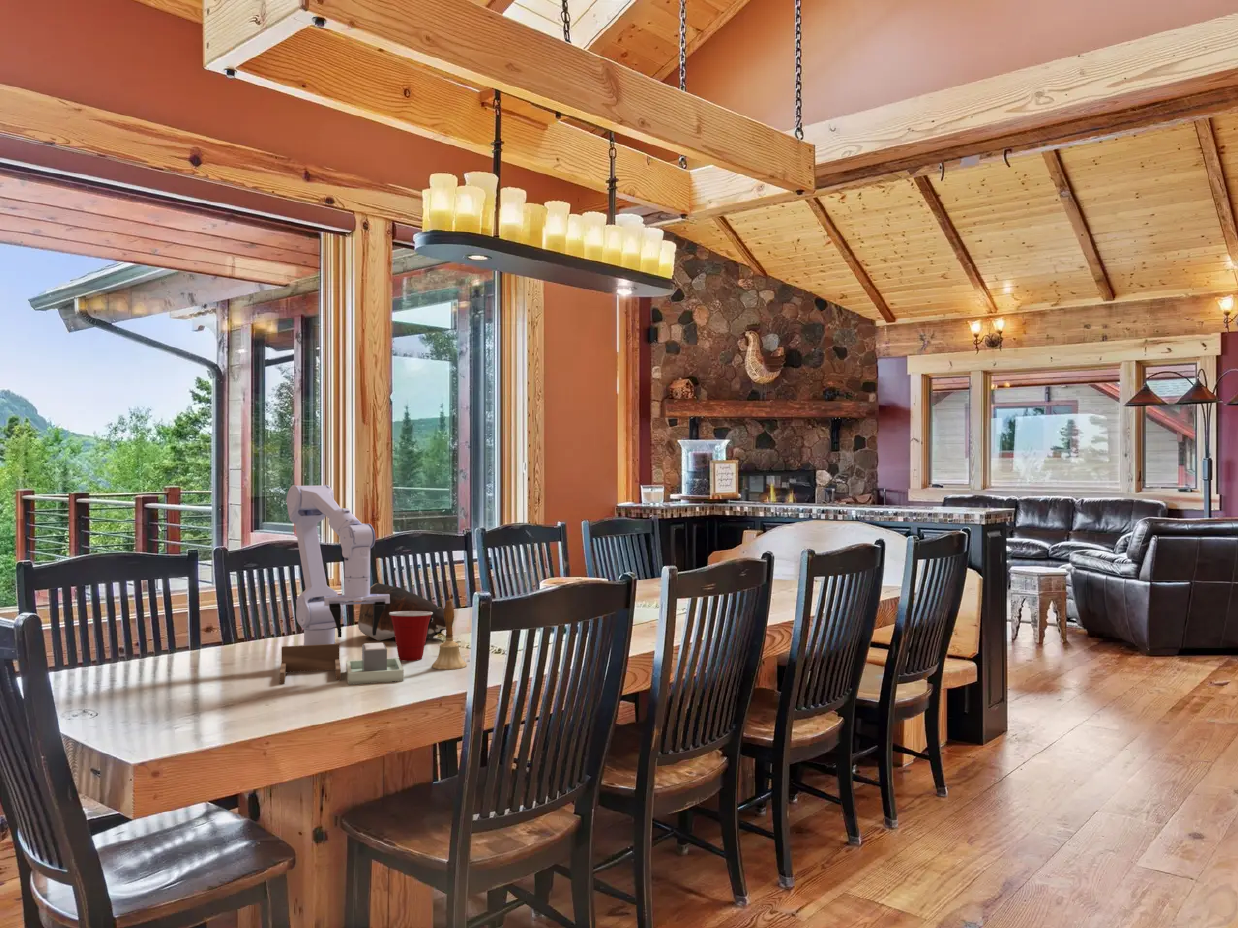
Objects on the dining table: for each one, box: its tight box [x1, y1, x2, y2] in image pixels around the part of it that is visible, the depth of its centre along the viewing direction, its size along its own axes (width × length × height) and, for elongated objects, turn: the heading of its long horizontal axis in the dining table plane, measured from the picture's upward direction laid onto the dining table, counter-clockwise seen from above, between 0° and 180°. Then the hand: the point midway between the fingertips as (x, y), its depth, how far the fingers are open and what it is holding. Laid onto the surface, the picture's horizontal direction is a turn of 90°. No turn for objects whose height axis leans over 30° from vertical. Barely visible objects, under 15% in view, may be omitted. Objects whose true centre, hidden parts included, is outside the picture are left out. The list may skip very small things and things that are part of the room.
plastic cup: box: [389, 611, 433, 662], centre depth 239 cm, size 11×11×12 cm
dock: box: [279, 643, 342, 685], centre depth 219 cm, size 13×13×6 cm
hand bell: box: [431, 599, 467, 671], centre depth 230 cm, size 8×8×16 cm
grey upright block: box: [361, 642, 388, 672], centre depth 219 cm, size 8×5×6 cm, turn 18°
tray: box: [345, 657, 405, 685], centre depth 219 cm, size 14×12×2 cm
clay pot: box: [357, 582, 446, 641], centre depth 266 cm, size 15×15×25 cm
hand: (357, 635), depth 219 cm, fingers open, 7 cm apart
